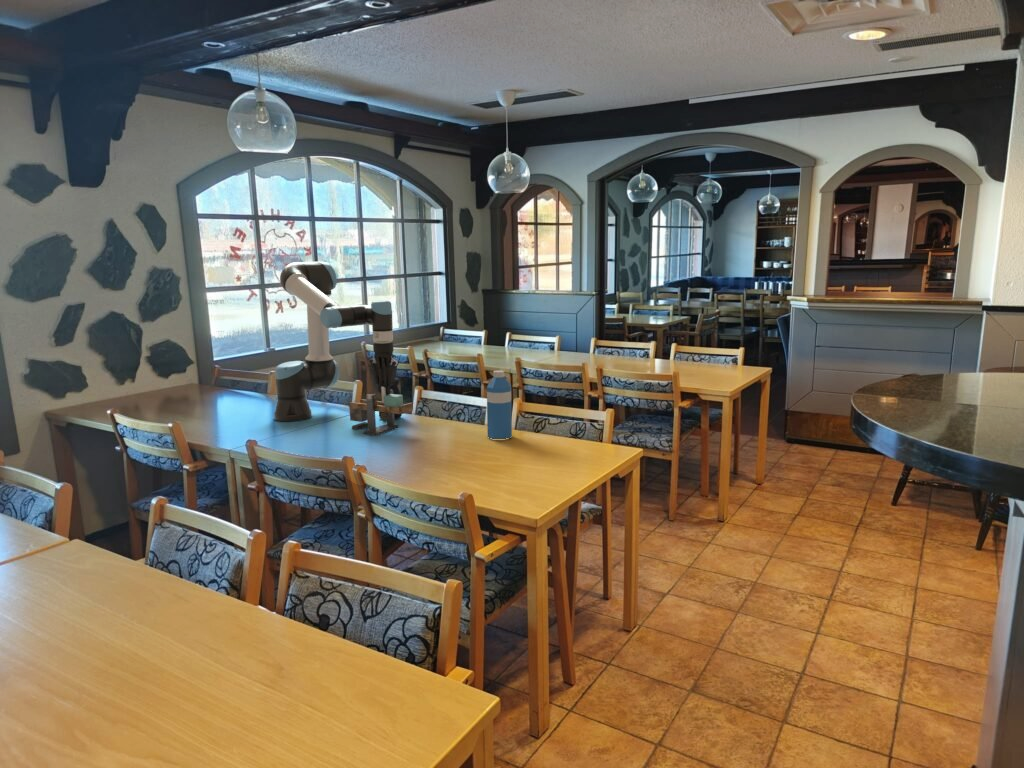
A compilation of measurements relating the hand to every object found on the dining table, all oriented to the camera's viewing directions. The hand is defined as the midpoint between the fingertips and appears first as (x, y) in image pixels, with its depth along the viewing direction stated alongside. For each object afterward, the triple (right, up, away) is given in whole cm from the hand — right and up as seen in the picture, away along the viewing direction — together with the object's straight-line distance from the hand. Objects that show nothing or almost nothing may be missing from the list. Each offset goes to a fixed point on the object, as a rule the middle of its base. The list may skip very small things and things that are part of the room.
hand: (385, 402), depth 261 cm
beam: (-2, -8, +3) cm, 8 cm away
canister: (-2, -7, +23) cm, 24 cm away
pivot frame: (-2, -11, +4) cm, 12 cm away
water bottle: (+44, -13, -8) cm, 47 cm away
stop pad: (-12, -10, +9) cm, 18 cm away
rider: (+3, -2, -2) cm, 4 cm away
